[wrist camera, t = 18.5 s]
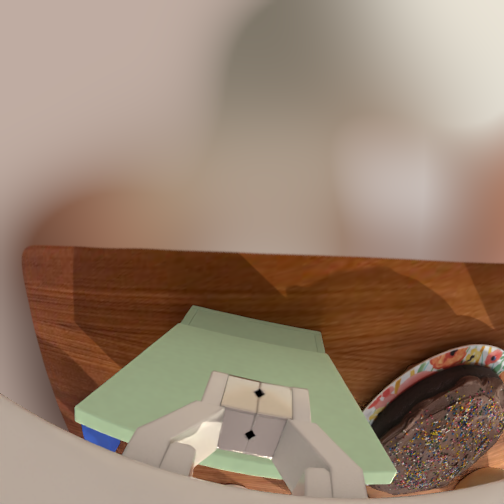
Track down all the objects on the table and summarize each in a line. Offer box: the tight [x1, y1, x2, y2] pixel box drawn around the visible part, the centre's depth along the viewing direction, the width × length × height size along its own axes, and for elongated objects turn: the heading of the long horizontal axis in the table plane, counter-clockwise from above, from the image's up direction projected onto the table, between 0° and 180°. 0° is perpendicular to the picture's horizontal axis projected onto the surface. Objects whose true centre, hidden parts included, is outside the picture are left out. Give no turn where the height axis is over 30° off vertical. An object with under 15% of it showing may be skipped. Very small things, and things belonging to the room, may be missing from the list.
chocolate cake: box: [362, 344, 504, 495], centre depth 31 cm, size 28×28×7 cm
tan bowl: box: [454, 467, 504, 490], centre depth 32 cm, size 18×18×12 cm
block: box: [81, 424, 120, 452], centre depth 38 cm, size 8×4×4 cm, turn 169°
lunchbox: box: [181, 305, 325, 354], centre depth 33 cm, size 17×14×5 cm
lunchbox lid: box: [74, 323, 397, 484], centre depth 19 cm, size 18×14×1 cm
